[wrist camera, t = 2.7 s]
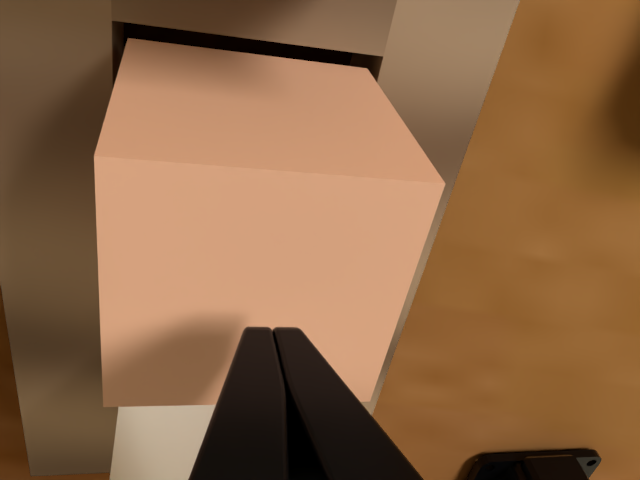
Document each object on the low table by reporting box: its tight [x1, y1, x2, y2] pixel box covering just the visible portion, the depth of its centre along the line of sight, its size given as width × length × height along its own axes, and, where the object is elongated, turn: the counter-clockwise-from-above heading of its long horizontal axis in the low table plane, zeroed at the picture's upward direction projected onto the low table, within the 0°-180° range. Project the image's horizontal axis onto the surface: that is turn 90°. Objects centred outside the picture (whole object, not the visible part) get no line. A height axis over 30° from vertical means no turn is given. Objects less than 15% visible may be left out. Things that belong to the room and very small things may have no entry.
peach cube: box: [94, 38, 445, 407], centre depth 12 cm, size 5×5×5 cm
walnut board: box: [0, 0, 520, 476], centre depth 15 cm, size 24×11×2 cm, turn 169°
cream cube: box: [110, 405, 216, 480], centre depth 16 cm, size 5×5×5 cm
